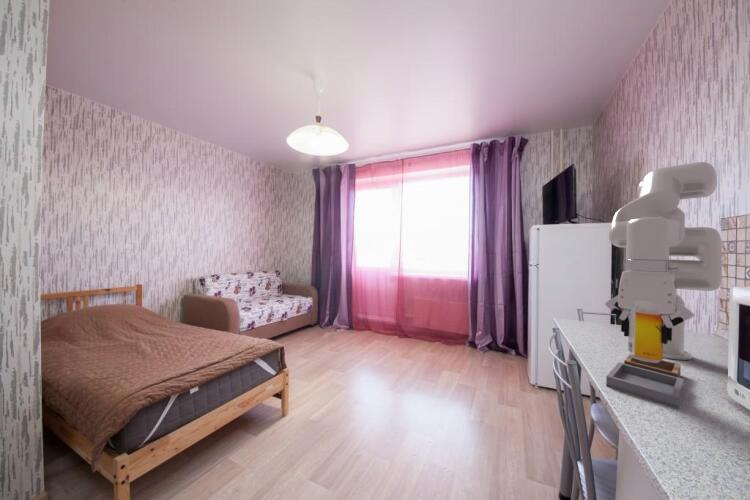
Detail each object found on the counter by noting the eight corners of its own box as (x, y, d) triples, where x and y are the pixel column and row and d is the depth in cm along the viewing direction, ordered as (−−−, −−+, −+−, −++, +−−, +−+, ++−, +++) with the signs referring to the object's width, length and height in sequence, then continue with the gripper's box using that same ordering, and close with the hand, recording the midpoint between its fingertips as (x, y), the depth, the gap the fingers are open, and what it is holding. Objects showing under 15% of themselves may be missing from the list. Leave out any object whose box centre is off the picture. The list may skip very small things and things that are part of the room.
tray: (618, 371, 76) (618, 362, 75) (683, 388, 66) (683, 378, 66) (606, 386, 67) (606, 376, 67) (678, 409, 57) (678, 397, 57)
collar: (630, 362, 81) (631, 352, 81) (680, 375, 74) (680, 364, 74) (624, 371, 75) (624, 360, 75) (677, 385, 67) (677, 374, 67)
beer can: (670, 365, 63) (671, 301, 63) (639, 362, 64) (641, 299, 64) (649, 355, 69) (650, 297, 69) (621, 353, 70) (623, 296, 70)
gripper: (701, 269, 62) (700, 346, 62) (605, 265, 76) (604, 328, 75) (700, 270, 57) (699, 353, 57) (598, 265, 71) (597, 332, 71)
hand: (645, 338), depth 66 cm, fingers closed on beer can, 6 cm apart
